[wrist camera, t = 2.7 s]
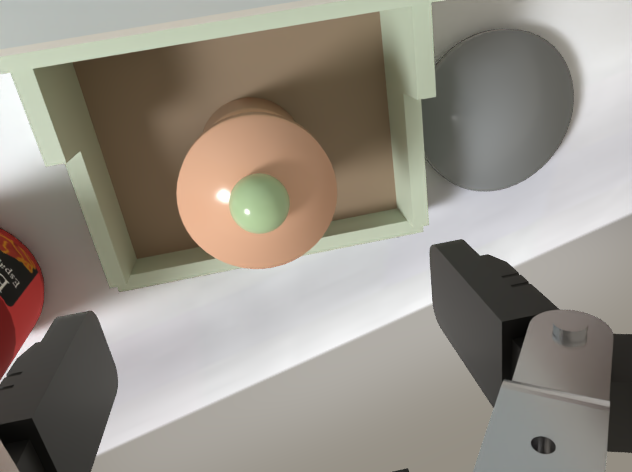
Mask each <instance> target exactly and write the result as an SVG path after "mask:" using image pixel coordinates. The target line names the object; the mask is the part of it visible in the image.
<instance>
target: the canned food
mask: <svg viewBox="0 0 632 472" xmlns="http://www.w3.org/2000/svg"><path fill="white" fill-rule="evenodd" d="M43 302H44V280H43V276H42V273H41V269H40V267H39V265H38V263H37V261H36V259H35V257H34V256H33V255H32V254H31V252H30V251H29V250H28V248H27V247H26V246H25V245H24V244H22V243H21V242H20V241H19V240H18V239H17V238H16V237H14V236H12V235H11V234H9V233H8V232H6V231H4V230H3V229H0V380H1V378H2V377H3V375H4V373H5V372H6V370H7V369H8V367H9V366H10V364H11V362H12V361H13V359H14V358H15V356H16V354H17V353H18V351H19V350H20V348H21V347H22V345H23V343H24V342H25V340H26V339H27V337H28V335H29V334H30V332H31V331H32V329H33V328H34V326H35V324H36V322H37V320H38V318H39V316H40V314H41V311H42V306H43Z"/></svg>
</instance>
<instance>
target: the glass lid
mask: <svg viewBox="0 0 632 472" xmlns="http://www.w3.org/2000/svg"><path fill="white" fill-rule="evenodd" d="M339 1H345V0H0V57H3V56H9V55H15V54H21V53H27V52H33V51H39V50H45V49H51V48H58V47H64V46H70V45H76V44H82V43H88V42H94V41H100V40H106V39H113V38H119V37H125V36H131V35H137V34H143V33H149V32H155V31H161V30H168V29H174V28H180V27H186V26H192V25H198V24H204V23H210V22H216V21H223V20H229V19H235V18H241V17H247V16H253V15H259V14H265V13H272V12H278V11H284V10H290V9H296V8H302V7H308V6H314V5H320V4H327V3H333V2H339Z"/></svg>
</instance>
